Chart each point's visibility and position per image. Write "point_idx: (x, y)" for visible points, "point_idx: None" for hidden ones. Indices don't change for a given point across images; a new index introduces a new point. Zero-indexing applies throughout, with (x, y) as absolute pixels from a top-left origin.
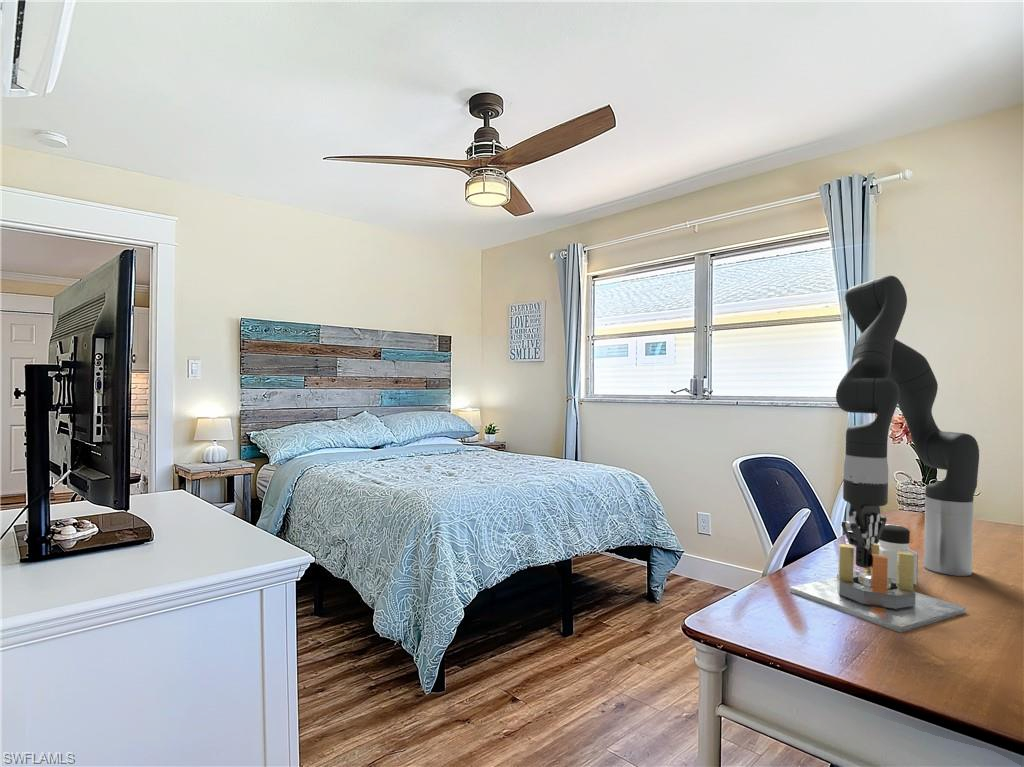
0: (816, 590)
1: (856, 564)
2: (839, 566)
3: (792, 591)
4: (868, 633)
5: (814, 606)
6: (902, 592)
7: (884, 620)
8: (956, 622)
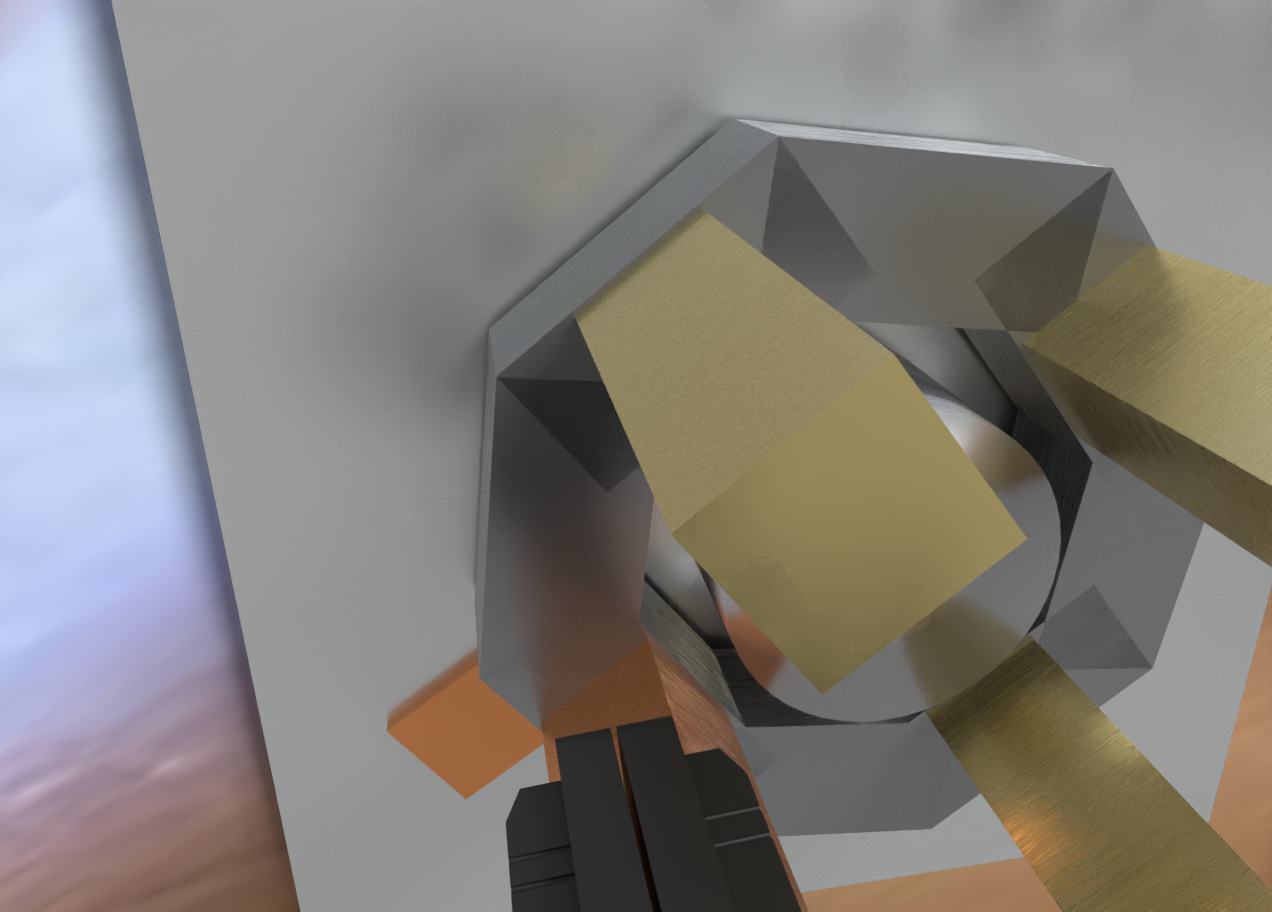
0: (365, 87)
1: (558, 740)
2: (630, 349)
3: None
4: (38, 891)
5: (33, 331)
6: (821, 802)
7: (311, 865)
8: (919, 888)
